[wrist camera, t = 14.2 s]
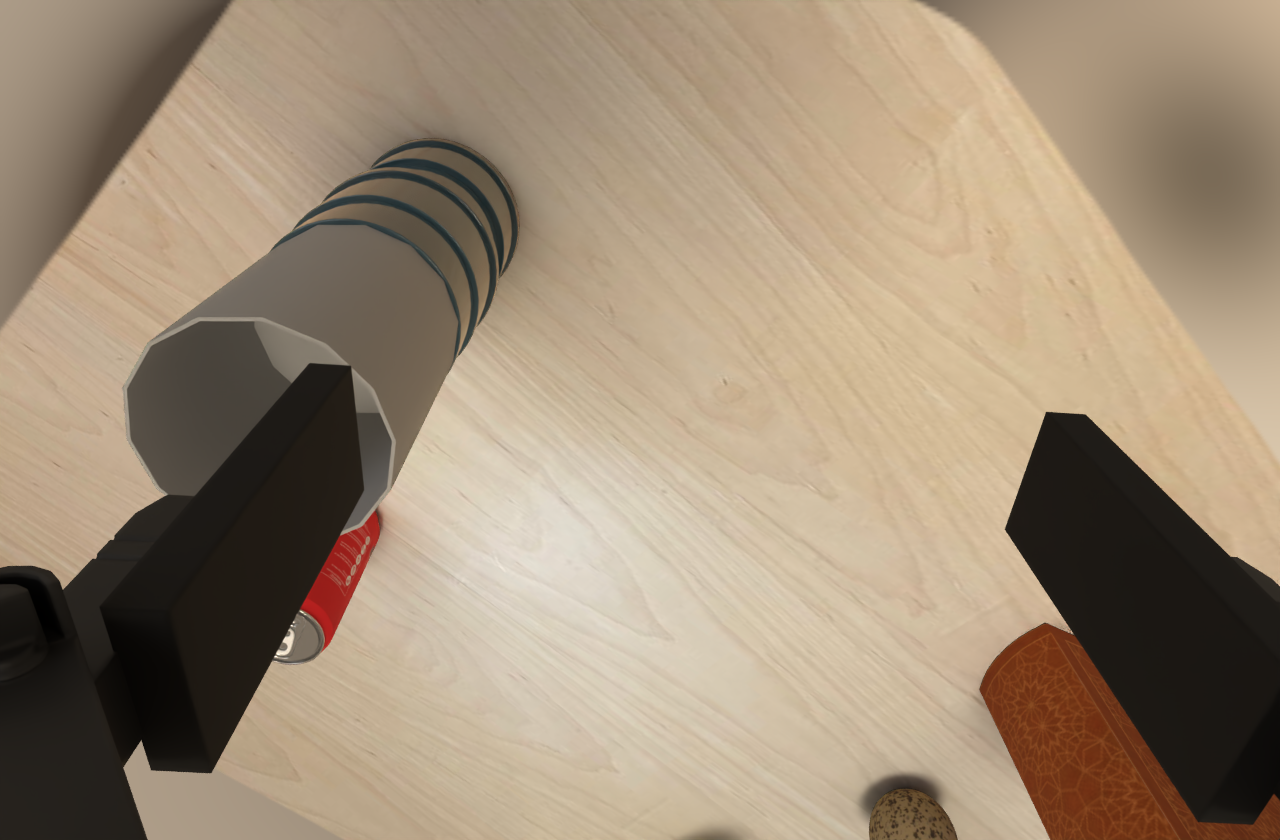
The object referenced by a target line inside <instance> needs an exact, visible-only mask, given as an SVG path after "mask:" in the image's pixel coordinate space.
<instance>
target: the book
mask: <svg viewBox="0 0 1280 840" xmlns="http://www.w3.org/2000/svg"><path fill="white" fill-rule="evenodd" d="M980 692H981V694H982V696H983V698H984V700H985V703H986V705H987V707H988V709H989V711H990V713H991V715H992V717H993V719H994V722H995V724H996V726H997V728H998V730H999V732H1000V734H1001V736H1002V738H1003V741H1004V743H1005V745H1006V747H1007V749H1008V751H1009V753H1010V755H1011V757H1012V760H1013V762H1014V764H1015V766H1016V768H1017V770H1018V772H1019V774H1020V776H1021V779H1022V781H1023V783H1024V785H1025V787H1026V789H1027V791H1028V793H1029V795H1030V798H1031V800H1032V802H1033V804H1034V806H1035V808H1036V810H1037V812H1038V814H1039V817H1040V819H1041V821H1042V823H1043V825H1044V827H1045V829H1046V831H1047V833H1048V836H1049V838H1050V840H1278V839H1279V838H1280V801H1279V799H1278V798H1277V797H1276V795H1275V794H1274V795H1273V796H1272V797H1271V799H1270V800H1269V802H1268V803H1267V805H1266V806H1265V808H1264V809H1263V811H1262V812H1261V814H1260V815H1259V817H1258V818H1257V820H1256V821H1255V823H1254V824H1253V825H1247V824H1227V823H1206V822H1198V821H1197V820H1196V818H1195V817H1194V815H1193V814H1192V812H1191V811H1190V809H1189V808H1188V806H1187V805H1186V803H1185V802H1184V800H1183V799H1182V797H1181V796H1180V794H1179V793H1178V791H1177V790H1176V788H1175V787H1174V785H1173V784H1172V782H1171V781H1170V779H1169V777H1168V776H1167V774H1166V773H1165V771H1164V770H1163V768H1162V767H1161V765H1160V764H1159V762H1158V761H1157V759H1156V758H1155V756H1154V755H1153V753H1152V752H1151V750H1150V749H1149V747H1148V746H1147V744H1146V743H1145V741H1144V740H1143V738H1142V737H1141V735H1140V734H1139V732H1138V730H1137V729H1136V727H1135V726H1134V724H1133V723H1132V721H1131V720H1130V718H1129V717H1128V715H1127V714H1126V712H1125V711H1124V709H1123V708H1122V706H1121V705H1120V703H1119V702H1118V700H1117V699H1116V697H1115V696H1114V694H1113V693H1112V691H1111V690H1110V688H1109V687H1108V685H1107V684H1106V682H1105V680H1104V679H1103V677H1102V676H1101V674H1100V673H1099V671H1098V670H1097V668H1096V667H1095V665H1094V664H1093V662H1092V661H1091V659H1090V658H1089V656H1088V655H1087V653H1086V652H1085V650H1084V649H1083V647H1082V646H1081V644H1080V643H1079V641H1078V640H1077V638H1076V637H1075V636H1074V635H1072V634H1069V633H1067V632H1065V631H1062V630H1060V629H1058V628H1056V627H1053V626H1051V625H1049V624H1046V623H1045V624H1043V625H1041V626H1039V627H1037V628H1035V629H1033V630H1031V631H1029V632H1028V633H1026V634H1024V635H1023V636H1021V637H1020V638H1018V639H1017V640H1015V641H1014V642H1013V643H1012V644H1010V645H1009V646H1008V647H1007V648H1006V649H1005V650H1004V651H1003V652H1002V653H1001V654H1000V655H999V656H998V657H997V658H996V659H995V660H994V662H993V663H992V664H991V666H990V667H989V669H988V670H987V672H986V674H985V676H984V678H983V681H982V684H981V687H980Z"/></svg>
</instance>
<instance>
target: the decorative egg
mask: <svg viewBox="0 0 1280 840" xmlns="http://www.w3.org/2000/svg"><path fill="white" fill-rule="evenodd" d="M869 837H870V840H958V839H957V835H956V832H955V829H954V827H953V824H952V822H951V820H950V819H949V817H948V815H947V814H946V812H945V811H944V810H943V808H942V807H941V806H940V805H939V804H938V803H937V802H936V801H935V800H933V799H932V798H931V797H929V796H928V795H926V794H924V793H922V792H920V791H917V790H913V789H897V790H893V791H890V792H888V793H887V794H885V795H884V796H883V797H882V798H881V799H880V800H879V801H878V802H877V803H876V805H875V807H874V809H873V811H872V814H871V817H870V824H869Z"/></svg>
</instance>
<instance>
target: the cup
mask: <svg viewBox="0 0 1280 840" xmlns="http://www.w3.org/2000/svg"><path fill="white" fill-rule="evenodd" d="M457 330H458V319H457V317H456V314H455V311H454V308H453V305H452V302H451V300H450V297H449V294H448V291H447V288H446V285H445V283H444V280H443V279H442V278H441V277H440V276H439V275H438V274H437V273H436V272H435V271H434V270H433V269H432V267H431V266H430V265H429V264H428V263H427V262H426V261H425V260H424V259H423V258H422V257H421V256H420V255H419V254H418V253H417V252H416V250H415V249H414V248H413V247H412V246H411V245H409V244H407V243H404V242H402V241H400V240H398V239H395V238H393V237H391V236H389V235H387V234H384V233H382V232H380V231H378V230H375V229H373V228H371V227H369V226H366V225H317V226H315V227H313V228H311V229H309V230H307V231H305V232H303V233H301V234H299V235H297V236H296V237H294V238H292V239H290V240H288V241H286V242H284V243H282V244H280V245H279V246H277V247H276V248H275V249H273V250H272V251H271V252H269V253H268V254H267V255H265V256H264V257H262V258H261V259H260V260H258V261H257V262H256V263H254V264H253V265H252V266H250V267H249V268H248V269H246V270H245V271H244V272H242V273H241V274H240V275H238V276H237V277H236V278H234V279H233V280H231V281H230V282H229V283H227V284H226V285H225V286H223V287H222V288H221V289H219V290H218V291H217V292H215V293H214V294H213V295H211V296H210V297H209V298H207V299H206V300H205V301H203V302H202V303H201V304H199V305H198V306H196V307H195V308H194V309H192V310H191V311H190V312H188V313H187V314H186V315H184V316H183V317H182V318H180V319H179V320H178V321H176V322H175V323H174V324H172V325H171V326H170V327H168V328H167V329H165V330H164V331H163V332H161V333H160V334H159V335H157V336H156V337H155V338H153V339H152V340H151V341H149V342H148V343H147V345H146V346H145V348H144V350H143V352H142V354H141V355H140V357H139V359H138V361H137V362H136V364H135V366H134V368H133V370H132V371H131V373H130V375H129V377H128V379H127V380H126V382H125V384H124V386H123V399H124V412H125V424H126V437H127V441H128V443H129V444H130V446H131V448H132V449H133V451H134V453H135V454H136V456H137V458H138V459H139V461H140V462H141V464H142V466H143V467H144V469H145V471H146V472H147V474H148V476H149V477H150V479H151V481H152V482H153V484H154V486H155V487H156V489H157V490H159V491H160V492H161V493H163V494H164V495H165V496H166V495H168V494H170V495H186V496H195V495H196V494H197V493H198V492H199V490H200V489H201V488H202V487H203V486H204V485H205V483H206V482H207V481H208V480H209V479H210V478H211V477H212V475H213V474H214V473H215V472H216V471H217V470H218V468H219V467H220V466H221V465H222V464H223V463H224V461H225V460H226V459H227V458H228V457H229V456H230V454H231V453H232V452H233V451H234V450H235V449H236V448H237V446H238V445H239V444H240V443H241V442H242V441H243V439H244V438H245V437H246V436H247V435H248V434H249V432H250V431H251V430H252V429H253V428H254V427H255V426H256V424H257V423H258V422H259V421H260V420H261V419H262V417H263V416H264V415H265V414H266V413H267V412H268V410H269V409H270V408H271V407H272V406H273V405H274V403H275V402H276V401H277V400H278V399H279V398H280V397H281V395H282V394H283V393H284V392H285V391H286V390H287V388H288V387H289V386H290V385H291V384H292V383H293V381H294V380H295V379H296V378H297V377H298V376H299V374H300V373H301V372H302V371H303V370H304V369H305V368H306V366H307V365H308V364H309V363H318V364H333V365H348V366H351V368H352V377H353V387H354V396H355V406H356V415H357V425H358V434H359V444H360V453H361V462H362V472H363V481H364V492H363V494H362V495H361V497H360V499H359V501H358V503H357V505H356V507H355V508H354V510H353V512H352V514H351V516H350V518H349V520H348V521H347V523H346V525H345V527H344V529H343V531H342V532H341V534H340V535H343V534H345V533H348V532H350V531H352V530H355V529H357V528H359V527H362V526H363V525H364V523H365V522H366V521H367V519H368V518H369V517H370V516H371V514H372V513H373V512H374V511H375V509H376V508H377V507H378V505H379V504H380V503H381V502H382V500H383V499H384V498H385V497H386V495H387V494H388V493H389V491H390V490H391V488H392V486H393V484H394V482H395V480H396V478H397V476H398V474H399V472H400V470H401V468H402V466H403V464H404V462H405V460H406V458H407V456H408V454H409V451H410V449H411V447H412V445H413V443H414V441H415V439H416V437H417V435H418V433H419V431H420V429H421V427H422V425H423V423H424V421H425V419H426V417H427V415H428V412H429V410H430V408H431V406H432V404H433V402H434V400H435V398H436V396H437V394H438V392H439V390H440V388H441V386H442V384H443V382H444V380H445V378H446V375H447V373H448V371H449V369H450V367H451V365H452V363H453V359H454V352H455V345H456V337H457Z"/></svg>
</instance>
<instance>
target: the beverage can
mask: <svg viewBox="0 0 1280 840" xmlns="http://www.w3.org/2000/svg"><path fill="white" fill-rule="evenodd" d="M378 523H379V520H378V515H377V512H376V510H375V511H374V512H373V513H372V514H371V516H370V517H369V518H368V519H367V521H366V522H365V523H364V525H363V526H362V527H359V528H357V529H355V530H352V531H350V532H348V533H345V534H343V535H340V536H339V538H338V540H337V542H336V544H335V545H334V547H333V549H332V551H331V553H330V555H329V557H328V558H327V560H326V562H325V564H324V566H323V568H322V569H321V571H320V573H319V575H318V577H317V579H316V581H315V582H314V584H313V586H312V588H311V590H310V592H309V593H308V595H307V597H306V599H305V601H304V603H303V605H302V606H301V608H300V610H299V612H298V614H297V616H296V618H295V619H294V621H293V623H292V625H291V627H290V629H289V630H288V632H287V634H286V636H285V638H284V640H283V642H282V643H281V645H280V647H279V649H278V651H277V653H276V654H275V656H274V658H273V660H272V661H273V662H276V663H280V664H287V665H297V664H303V663H306V662H309V661H312V660H314V659H315V658H316V657H317V656H318V655H319V654H320V653H321V652H322V651H323V650H324V649H325V648H326V647H327V646H328V645H329V643H330V642H331V640H332V638H333V636H334V634H335V631H336V629H337V627H338V625H339V623H340V621H341V619H342V616H343V614H344V612H345V610H346V608H347V606H348V604H349V601H350V599H351V597H352V595H353V593H354V591H355V589H356V586H357V584H358V582H359V580H360V578H361V576H362V574H363V571H364V569H365V567H366V565H367V563H368V561H369V559H370V556H371V554H372V552H373V550H374V548H375V546H376V544H377V541H378V539H379V535H380V528H379V524H378Z"/></svg>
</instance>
